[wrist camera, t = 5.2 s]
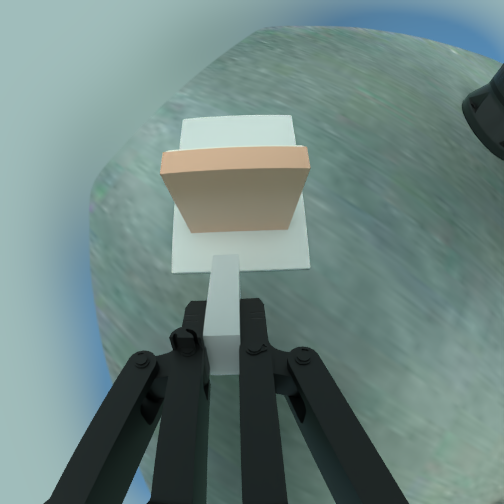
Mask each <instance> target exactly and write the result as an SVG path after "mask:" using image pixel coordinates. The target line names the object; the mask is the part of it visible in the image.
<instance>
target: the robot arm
mask: <svg viewBox="0 0 504 504" xmlns="http://www.w3.org/2000/svg"><path fill="white" fill-rule="evenodd" d="M462 106H463V112H464V114H465V117H466V119H467V121H468V123H469V125H470V126H471V128H472V129H473V131H474V132H475V134H476V135H477V136H478V138H479V139H480V140H481V141H482V142H483V143H484V145H485V146H486V147H487V148H488V149H489V150H491V151H492V152H493V153H494V154H495V155H497V156H498V157H500V158H501V159H504V64H503V65H502V66H501V68H500V69H499V70H498V72H497V73H496V74H495V76H494V77H493V78H492V80H491V81H490V82H489V83H488V84H486V85H485V86H483V87H481V88H479V89H477V90H475V91H473V92H472V93H470V94H469V95H468V96H467V97H466V98H465V100H464V101H463V104H462ZM169 338H170V341H171V345H172V348H173V351H171V352H169V353H167V354H163V355H159V356H155V355H154V354H153V353H151V352H149V351H139V352H136V353H135V354H133V355H132V356H131V357H130V358H129V360H128V361H127V363H126V365H125V366H124V368H123V369H122V371H121V373H120V374H119V376H118V378H117V379H116V381H115V382H114V384H113V386H112V388H111V389H110V391H109V392H108V394H107V396H106V397H105V399H104V401H103V402H102V404H101V406H100V408H99V409H98V411H97V413H96V414H95V416H94V418H93V420H92V421H91V423H90V425H89V427H88V428H87V430H86V432H85V434H84V436H83V437H82V439H81V441H80V442H79V444H78V446H77V448H76V450H75V452H74V454H73V455H72V457H71V459H70V461H69V463H68V464H67V467H66V468H65V470H64V472H63V474H62V476H61V478H60V480H59V482H58V484H57V485H56V487H55V490H54V491H53V493H52V495H51V497H50V499H49V500H47V501H46V502H45V503H44V504H122V503H123V500H124V498H125V496H126V493H127V491H128V489H129V487H130V484H131V482H132V480H133V478H134V475H135V473H136V471H137V468H138V466H139V464H140V462H141V460H142V457H143V455H144V453H145V451H146V448H147V446H148V444H149V442H150V440H151V437H152V435H153V433H154V431H155V428H156V426H157V424H158V422H159V420H160V417H161V423H160V429H159V436H158V443H157V450H156V458H155V466H154V474H153V483H152V492H151V498H150V501H149V502H148V503H147V504H206V488H207V452H208V426H209V405H210V386H211V384H210V380H209V374H211V375H239V384H240V433H241V470H242V500H243V504H288V501H287V492H286V483H285V474H284V464H283V455H282V446H281V437H280V429H279V420H278V411H277V402H276V394H275V393H277V394H282V395H285V398H286V400H287V402H288V404H289V407H290V409H291V411H292V413H293V415H294V417H295V420H296V422H297V424H298V426H299V428H300V430H301V432H302V434H303V437H304V439H305V441H306V443H307V445H308V447H309V449H310V451H311V453H312V455H313V458H314V460H315V462H316V464H317V466H318V468H319V470H320V472H321V474H322V476H323V478H324V480H325V482H326V484H327V486H328V488H329V490H330V492H331V494H332V496H333V498H334V500H335V502H336V504H409V503H408V501H407V500H406V498H405V496H404V495H403V493H402V491H401V490H400V488H399V486H398V485H397V483H396V482H395V480H394V478H393V477H392V475H391V473H390V472H389V470H388V468H387V467H386V465H385V463H384V462H383V460H382V458H381V457H380V455H379V453H378V452H377V450H376V449H375V447H374V445H373V444H372V442H371V440H370V439H369V437H368V435H367V434H366V432H365V430H364V429H363V427H362V426H361V424H360V422H359V421H358V419H357V417H356V416H355V414H354V412H353V411H352V409H351V408H350V406H349V404H348V403H347V401H346V399H345V398H344V396H343V394H342V393H341V391H340V389H339V388H338V386H337V385H336V383H335V381H334V380H333V378H332V376H331V375H330V373H329V371H328V370H327V368H326V367H325V365H324V363H323V362H322V360H321V358H320V357H319V355H318V354H317V353H316V352H315V350H313V349H311V348H308V347H297V348H295V349H293V350H291V352H284V351H280V350H277V349H275V348H274V347H273V346H271V345H270V343H269V341H268V336H267V327H266V319H265V310H264V304H263V303H262V301H261V300H260V299H259V298H252V299H241V289H240V271H239V254H230V255H213V260H212V267H211V274H210V282H209V289H208V297H207V301H191V302H190V303H189V304H188V305H187V307H186V309H185V314H184V319H183V324H182V327H181V328H178V329H176V330H174V331H173V332H172V333H171V335H170V337H169ZM161 415H162V416H161Z"/></svg>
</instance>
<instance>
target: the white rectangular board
mask: <svg viewBox="0 0 504 504" xmlns="http://www.w3.org/2000/svg"><path fill="white" fill-rule="evenodd" d="M252 145H296V142H295V135H294V129H293V123H292V117H291V115H240V116H218V117H203V118H191V119H183V123H182V131H181V140H180V149H179V150H181V149H193V148H207V147H224V146H252ZM230 254H239V271H240V272H252V271H277V270H300V269H310V257H309V247H308V237H307V227H306V218H305V209H304V201H303V193H301V195H300V198H299V201H298V204H297V206H296V209H295V212H294V214H293V217H292V220H291V222H290V225H289V228H288V230H260V231H231V232H206V233H191V232H190V230H189V228H188V226H187V224H186V222H185V221H184V219H183V217H182V215H181V213H180V211H179V209H178V207H177V206H176V204H175V207H174V223H173V245H172V273H173V274H188V273H211V267H212V260H213V255H230Z"/></svg>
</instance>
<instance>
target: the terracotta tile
mask: <svg viewBox="0 0 504 504" xmlns="http://www.w3.org/2000/svg"><path fill="white" fill-rule="evenodd" d="M309 171H310V163H309V157H308V151H307V147H303V145H252V146H224V147H207V148H193V149H181V150H170V151H167V152H163V155H162V163H161V171H160V175H161V177H162V179H163V181H164V183H165V185H166V187H167V188H168V190H169V192H170V194H171V196H172V198H173V200H174V202H175V204H176V206H177V207H178V209H179V211H180V213H181V215H182V217H183V219H184V221H185V222H186V224H187V226H188V228H189V230H190V232H191V233H206V232H231V231H260V230H288V228H289V225H290V222H291V220H292V217H293V214H294V212H295V209H296V206H297V204H298V201H299V198H300V195H301V193H302V190H303V187H304V184H305V182H306V179H307V176H308V173H309Z"/></svg>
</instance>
